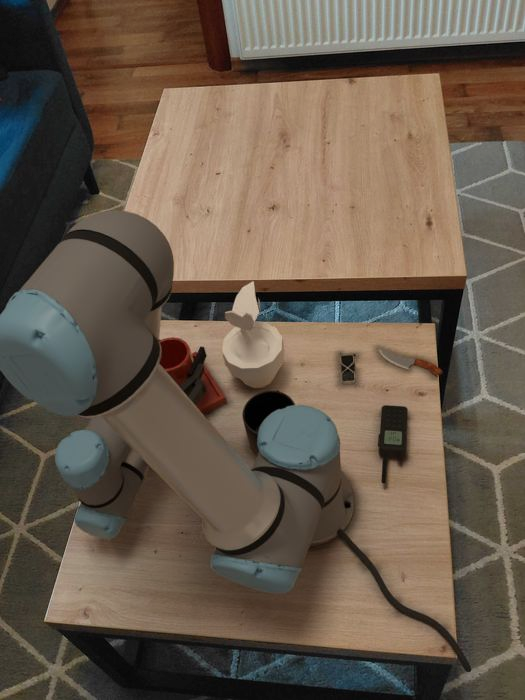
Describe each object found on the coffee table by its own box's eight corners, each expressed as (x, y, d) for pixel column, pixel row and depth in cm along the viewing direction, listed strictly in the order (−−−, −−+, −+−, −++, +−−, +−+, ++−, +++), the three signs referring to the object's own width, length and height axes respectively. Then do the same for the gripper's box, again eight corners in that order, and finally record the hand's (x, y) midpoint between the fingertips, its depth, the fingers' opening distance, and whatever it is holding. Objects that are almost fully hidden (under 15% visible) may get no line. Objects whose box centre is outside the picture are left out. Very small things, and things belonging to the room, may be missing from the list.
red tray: (227, 403, 125) (225, 397, 124) (167, 433, 123) (165, 427, 121) (198, 357, 133) (196, 351, 132) (142, 384, 131) (139, 378, 129)
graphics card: (340, 352, 129) (355, 351, 128) (340, 354, 129) (355, 353, 129) (341, 381, 124) (357, 380, 124) (341, 384, 125) (357, 383, 124)
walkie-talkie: (407, 406, 116) (405, 479, 106) (407, 417, 118) (404, 490, 109) (380, 404, 117) (375, 477, 107) (380, 415, 119) (375, 487, 110)
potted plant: (278, 405, 123) (261, 316, 104) (221, 393, 127) (195, 305, 108) (297, 354, 131) (285, 263, 112) (243, 344, 134) (222, 254, 115)
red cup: (206, 390, 125) (196, 358, 117) (169, 409, 123) (156, 377, 115) (190, 364, 129) (179, 331, 122) (154, 381, 128) (141, 349, 120)
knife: (373, 358, 127) (379, 347, 129) (373, 360, 128) (379, 348, 129) (439, 377, 122) (444, 366, 123) (439, 379, 122) (444, 367, 124)
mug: (306, 409, 122) (302, 380, 115) (296, 465, 115) (292, 438, 108) (257, 405, 124) (250, 376, 117) (244, 460, 117) (237, 433, 110)
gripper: (88, 447, 117) (139, 351, 130) (193, 472, 111) (236, 368, 124) (73, 425, 111) (129, 326, 124) (184, 449, 105) (230, 343, 118)
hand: (182, 347), depth 124 cm, fingers closed on red cup, 8 cm apart
